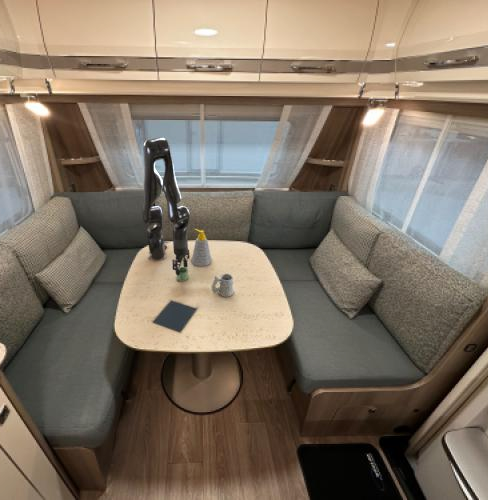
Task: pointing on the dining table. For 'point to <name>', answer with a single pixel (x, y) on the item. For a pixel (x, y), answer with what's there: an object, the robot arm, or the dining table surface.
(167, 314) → the placemat
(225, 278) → the mug
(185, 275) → the green cup
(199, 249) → the soap bottle
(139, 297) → the dining table surface
